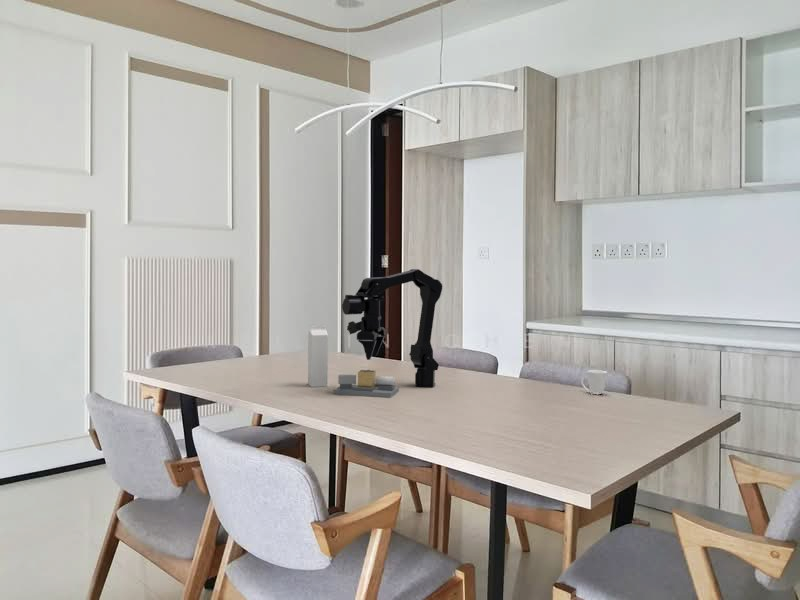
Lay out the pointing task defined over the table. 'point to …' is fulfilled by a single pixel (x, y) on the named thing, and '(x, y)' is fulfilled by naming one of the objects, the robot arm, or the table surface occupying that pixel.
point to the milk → (317, 356)
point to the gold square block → (367, 378)
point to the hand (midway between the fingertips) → (371, 358)
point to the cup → (595, 380)
